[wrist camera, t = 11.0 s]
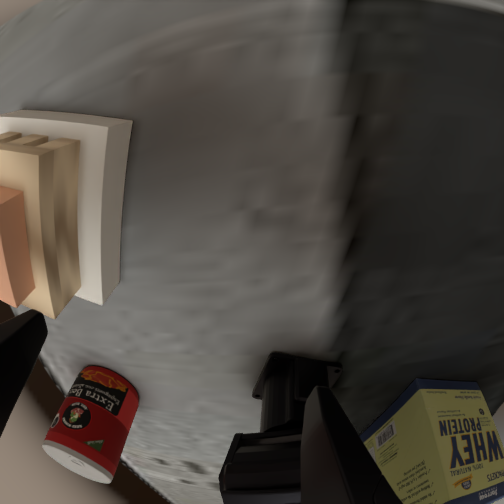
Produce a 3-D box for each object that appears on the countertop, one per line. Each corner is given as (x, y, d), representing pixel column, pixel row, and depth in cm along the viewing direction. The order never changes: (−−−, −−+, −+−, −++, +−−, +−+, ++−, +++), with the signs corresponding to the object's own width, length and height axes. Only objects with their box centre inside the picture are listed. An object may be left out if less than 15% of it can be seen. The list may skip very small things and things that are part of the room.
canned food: (133, 372, 28) (95, 465, 18) (146, 412, 31) (121, 490, 22) (72, 356, 28) (28, 434, 18) (92, 397, 32) (60, 467, 22)
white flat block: (119, 281, 22) (102, 305, 19) (25, 248, 21) (5, 266, 19) (132, 120, 16) (108, 126, 14) (21, 109, 16) (-6, 116, 13)
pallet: (81, 286, 19) (55, 319, 16) (17, 262, 18) (-10, 288, 15) (80, 140, 14) (39, 155, 11) (8, 131, 14) (-31, 145, 10)
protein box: (478, 379, 26) (519, 489, 12) (407, 445, 33) (422, 537, 20) (415, 375, 25) (453, 517, 12) (345, 446, 33) (352, 551, 19)
